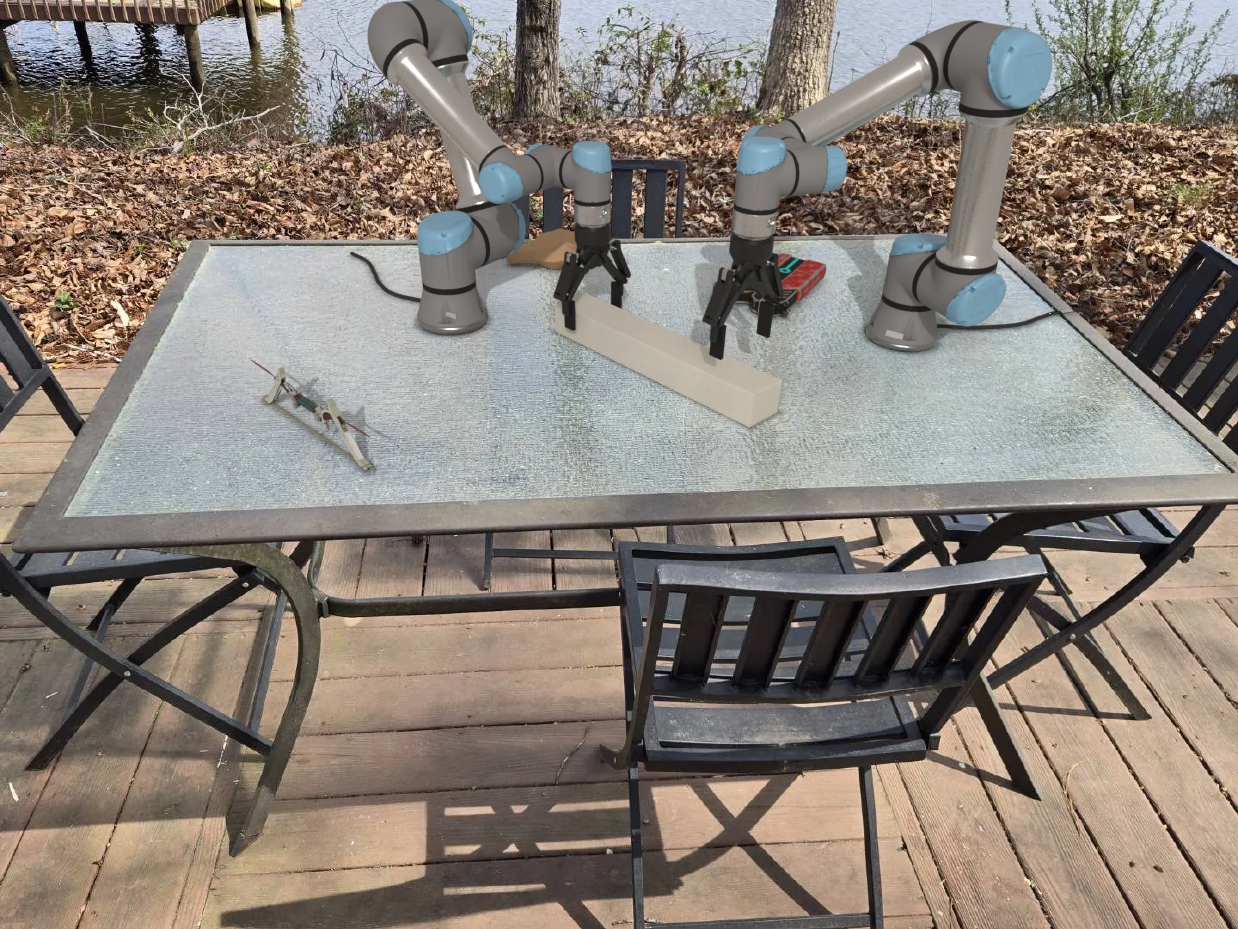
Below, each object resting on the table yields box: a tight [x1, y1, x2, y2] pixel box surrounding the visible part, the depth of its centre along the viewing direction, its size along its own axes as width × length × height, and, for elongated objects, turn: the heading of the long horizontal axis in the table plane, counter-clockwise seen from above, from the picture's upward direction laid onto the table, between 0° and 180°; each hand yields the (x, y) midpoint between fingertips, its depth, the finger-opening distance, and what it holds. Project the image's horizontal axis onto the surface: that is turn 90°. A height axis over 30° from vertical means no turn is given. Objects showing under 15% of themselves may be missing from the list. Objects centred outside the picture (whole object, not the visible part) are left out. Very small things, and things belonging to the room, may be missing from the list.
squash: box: [505, 227, 577, 270], centre depth 225 cm, size 11×20×9 cm, turn 90°
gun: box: [711, 252, 827, 318], centre depth 215 cm, size 4×31×19 cm
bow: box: [250, 359, 373, 471], centre depth 154 cm, size 39×2×10 cm, turn 47°
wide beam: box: [554, 291, 783, 428], centre depth 179 cm, size 55×9×7 cm, turn 44°
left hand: (593, 319), depth 190 cm, fingers open, 13 cm apart
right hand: (740, 346), depth 162 cm, fingers open, 13 cm apart
